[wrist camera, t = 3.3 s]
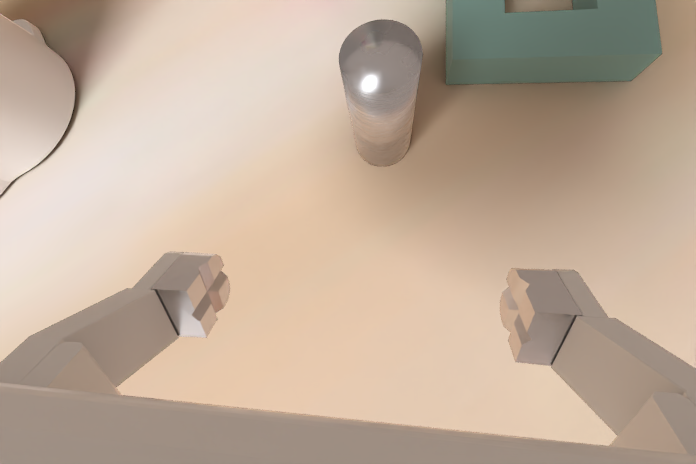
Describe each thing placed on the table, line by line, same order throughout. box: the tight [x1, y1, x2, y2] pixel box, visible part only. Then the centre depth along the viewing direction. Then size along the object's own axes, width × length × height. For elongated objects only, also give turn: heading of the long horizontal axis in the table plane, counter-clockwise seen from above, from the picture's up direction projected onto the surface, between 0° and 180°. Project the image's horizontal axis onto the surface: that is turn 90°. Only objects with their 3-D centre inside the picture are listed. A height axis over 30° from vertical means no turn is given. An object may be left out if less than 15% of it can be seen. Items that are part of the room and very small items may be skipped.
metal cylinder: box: [339, 20, 423, 166], centre depth 23 cm, size 4×4×10 cm
